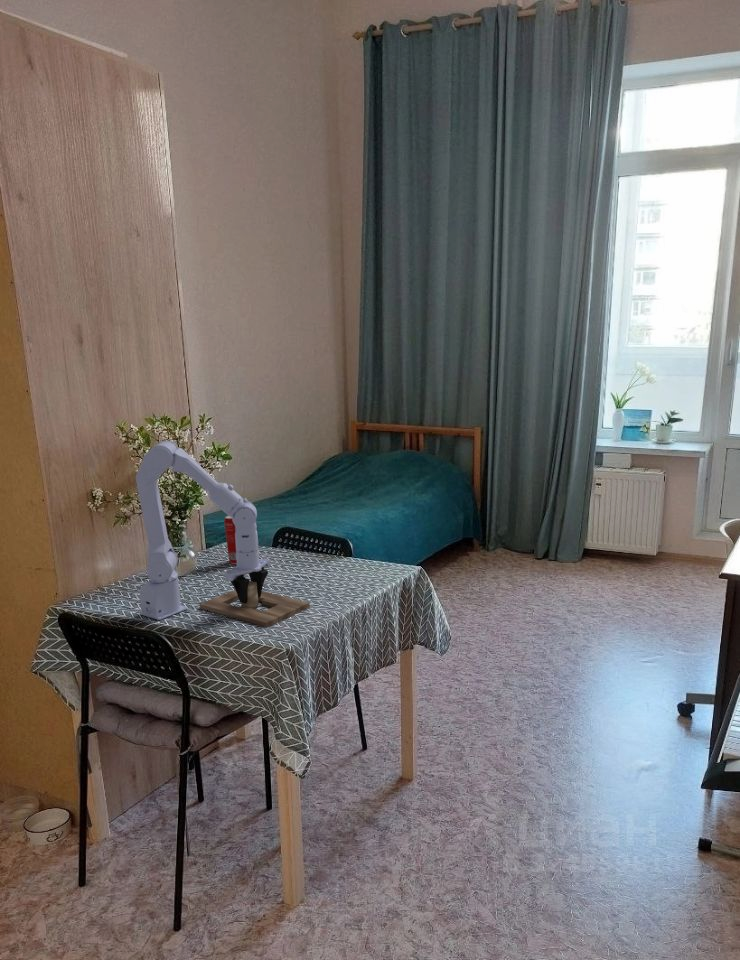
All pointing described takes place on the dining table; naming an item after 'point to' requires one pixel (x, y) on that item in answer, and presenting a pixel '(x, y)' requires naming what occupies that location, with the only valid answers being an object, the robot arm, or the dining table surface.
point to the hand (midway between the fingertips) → (250, 599)
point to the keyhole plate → (278, 612)
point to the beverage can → (230, 539)
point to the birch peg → (251, 595)
